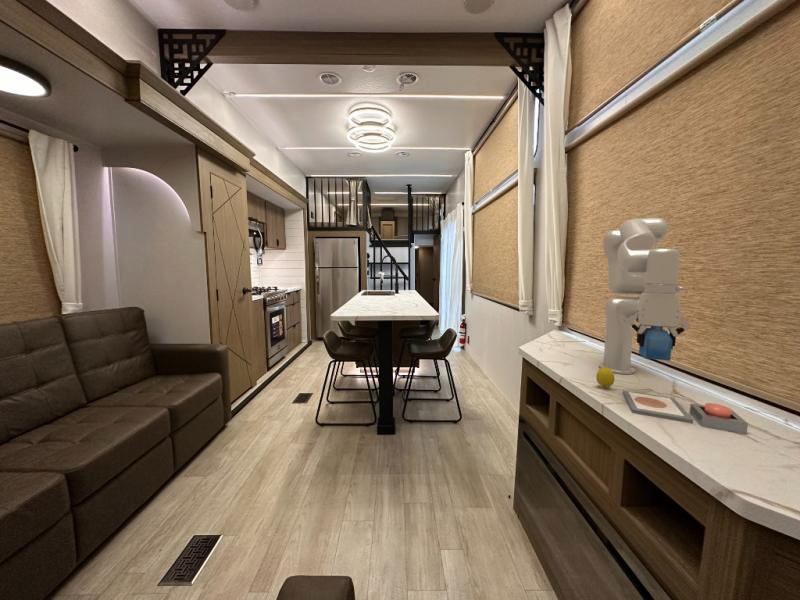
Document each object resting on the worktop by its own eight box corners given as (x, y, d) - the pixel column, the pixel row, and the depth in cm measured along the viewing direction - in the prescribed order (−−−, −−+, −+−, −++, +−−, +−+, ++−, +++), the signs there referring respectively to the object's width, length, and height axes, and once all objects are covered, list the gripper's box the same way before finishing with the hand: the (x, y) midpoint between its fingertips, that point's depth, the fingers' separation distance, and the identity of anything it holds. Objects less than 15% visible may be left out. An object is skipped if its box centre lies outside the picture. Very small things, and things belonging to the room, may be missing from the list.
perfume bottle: (644, 358, 96) (648, 319, 95) (638, 353, 102) (642, 316, 100) (670, 360, 93) (674, 321, 92) (662, 355, 99) (666, 318, 98)
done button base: (689, 412, 94) (690, 403, 94) (730, 419, 90) (731, 409, 90) (701, 426, 86) (702, 415, 86) (746, 434, 82) (748, 423, 82)
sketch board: (622, 392, 109) (622, 389, 109) (673, 400, 103) (674, 397, 103) (632, 412, 94) (632, 408, 94) (693, 423, 88) (693, 419, 88)
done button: (701, 410, 91) (702, 401, 91) (725, 414, 89) (726, 405, 89) (708, 417, 87) (709, 409, 87) (734, 422, 84) (735, 413, 84)
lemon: (616, 391, 110) (618, 369, 110) (599, 390, 112) (600, 368, 111) (609, 385, 116) (611, 364, 115) (593, 384, 117) (594, 364, 116)
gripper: (692, 289, 95) (686, 347, 96) (623, 288, 102) (619, 341, 104) (702, 291, 88) (696, 353, 90) (627, 289, 96) (623, 346, 98)
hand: (655, 346), depth 97 cm, fingers closed on perfume bottle, 6 cm apart
